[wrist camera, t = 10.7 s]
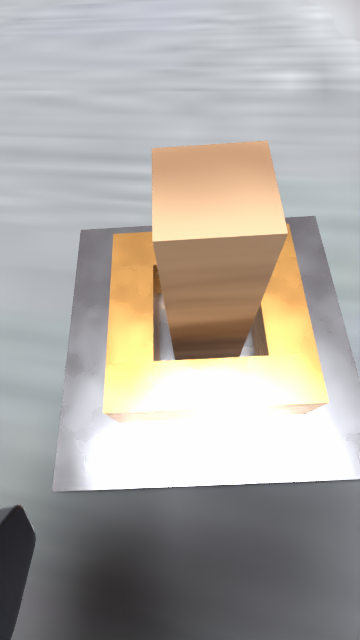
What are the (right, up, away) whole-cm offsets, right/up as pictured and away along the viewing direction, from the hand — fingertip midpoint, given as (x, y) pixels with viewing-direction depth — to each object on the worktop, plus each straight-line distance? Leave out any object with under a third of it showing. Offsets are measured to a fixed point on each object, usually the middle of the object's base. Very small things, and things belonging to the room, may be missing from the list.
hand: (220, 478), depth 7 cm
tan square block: (+1, +3, +14) cm, 15 cm away
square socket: (+1, +2, +15) cm, 16 cm away
